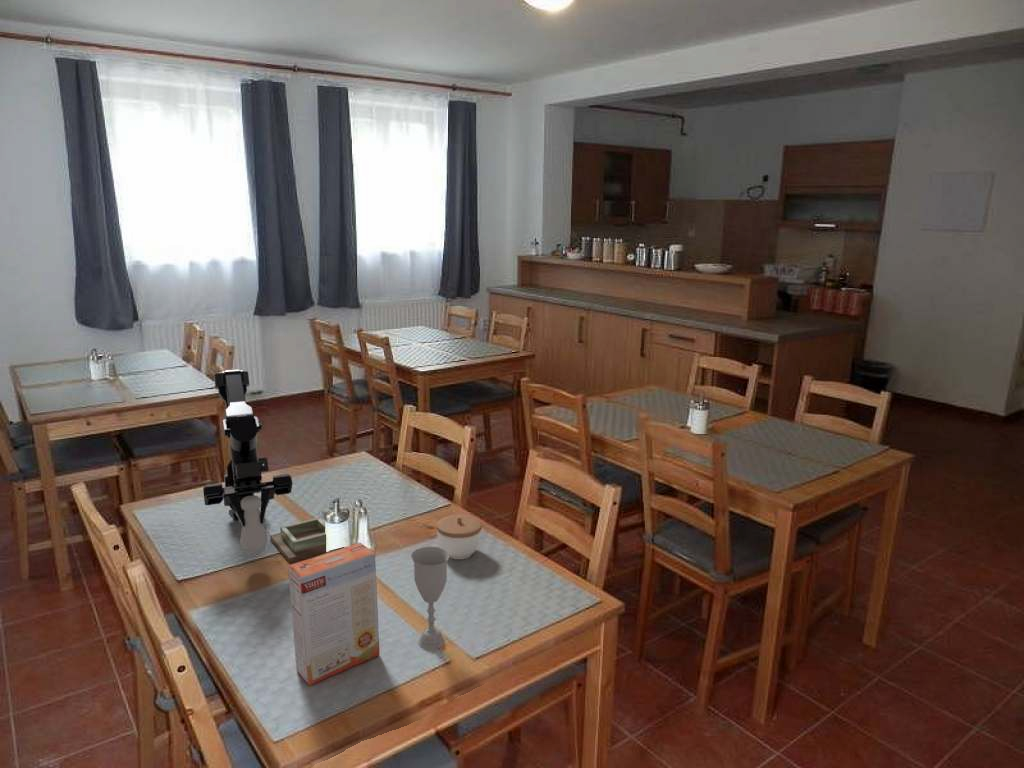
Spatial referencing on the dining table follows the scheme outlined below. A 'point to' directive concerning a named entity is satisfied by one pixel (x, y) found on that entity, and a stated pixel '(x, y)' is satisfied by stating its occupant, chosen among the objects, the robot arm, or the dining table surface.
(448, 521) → the lidded jar
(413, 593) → the dining table surface
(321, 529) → the stand
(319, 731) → the dining table surface
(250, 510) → the salt shaker
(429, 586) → the chalice
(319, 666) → the cracker box
